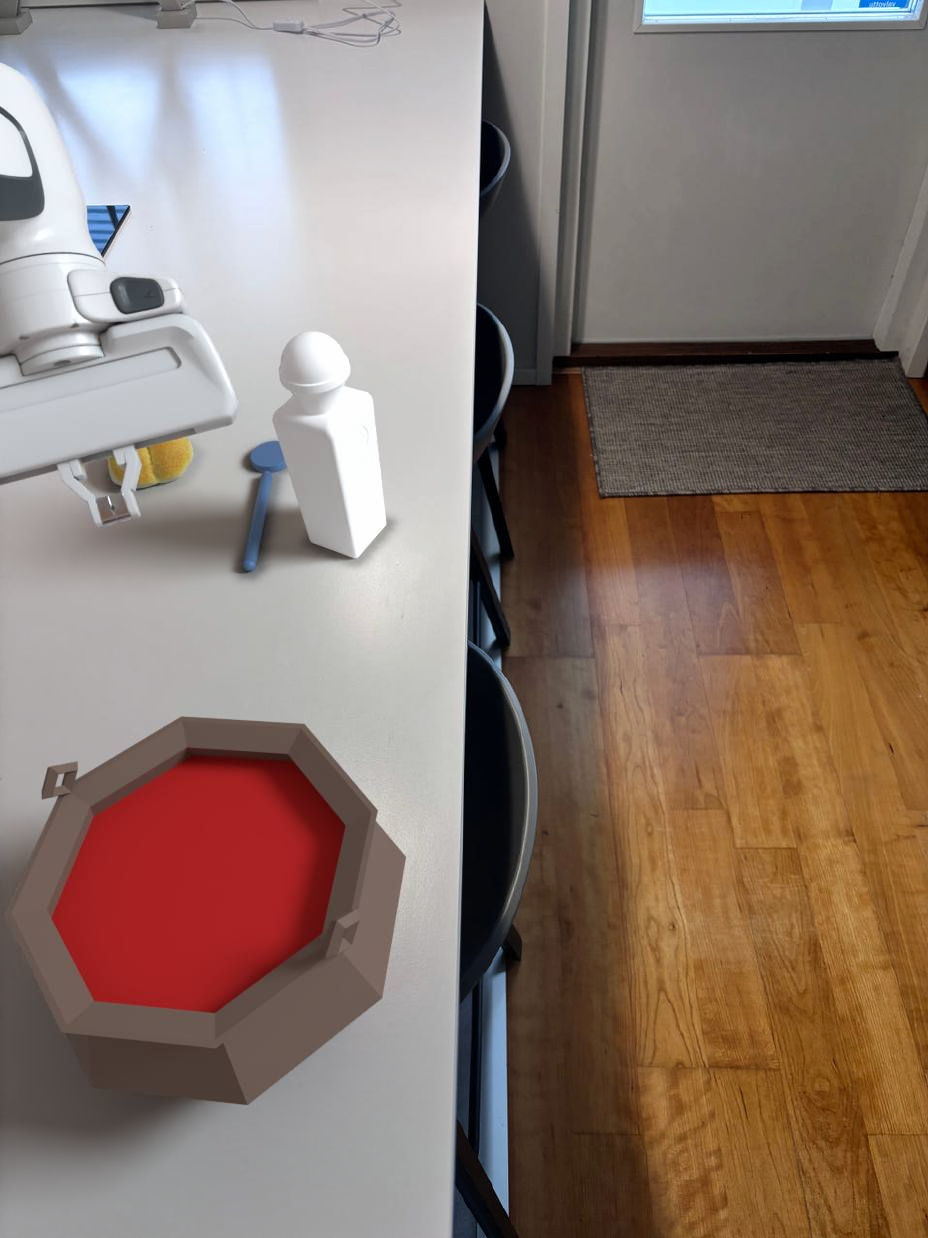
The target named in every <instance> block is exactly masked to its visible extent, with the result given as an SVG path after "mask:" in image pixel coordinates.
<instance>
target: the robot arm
mask: <svg viewBox="0 0 928 1238" xmlns="http://www.w3.org/2000/svg"><path fill="white" fill-rule="evenodd" d="M82 189H83V188H82V186H81V184H80V180H79V178H78V174H77V171H76V169H75V167H74V164H73V161H72V159H71V155H70V154H69V151H68V148H67V146H66V144H65V142H64V139H63V137H62V135H61V132H60V130H59V128H58V126H57V124H56V122H55V119H54V118H53V116H52V114H51V112H50V111H49V108H48V107H47V105H46V103H45V101H44V99H43V97H42V96H41V95H40V92H38V90H37V88H36V87H35V85H34V84H33V83H32V81H30V80H29V78H27V77H26V76H25V75H24V74H23V73H22V72H20V71H18V70H17V69H16V68H13V67H11V66H9V65H8V64H6V63H3V62H1V61H0V486H5V485H8V484H11V483H15V482H19V481H23V480H27V479H31V478H35V477H38V476H42V475H46V474H49V473H54V472H58V474H59V477H60V481H61V482H62V483H63V484H64V485H66V486H67V487H68V488H69V489H70V490H71V491H72V492H73V493H74V494H76V495H77V497H79V498H80V499H81V500H83V502H84V503H86V504H87V506H88V510H89V512H90V516H91V519H92V521H93V524H94V526H95V527H96V528H97V529H103V528H106V527H109V526H114V525H117V524H119V523H124V522H127V521H131V520H135V519H139V518H141V517H142V516H141V512H140V508H139V505H138V503H137V499H136V496H135V493H136V491H137V488H136V487H137V483H138V479H139V475H140V471H141V467H142V464H141V461H140V458H139V455H138V452H137V450H138V449H142V448H145V447H149V446H153V445H157V444H161V443H165V442H168V441H172V440H176V439H180V438H184V437H191V436H195V435H199V434H203V433H207V432H210V431H213V430H218V429H221V428H225V427H228V426H231V425H233V424H234V422H235V421H236V418H237V416H238V415H239V411H240V405H239V400H238V398H237V395H236V392H235V389H234V386H233V384H232V381H231V379H230V376H229V373H228V371H227V368H226V366H225V364H224V362H223V360H222V358H221V356H220V353H219V351H218V349H217V347H216V345H215V344H214V341H213V340H212V337H211V336H210V334H209V333H208V331H207V330H206V329H205V327H204V326H203V325H202V324H201V323H200V322H199V321H198V320H196V319H195V318H193V317H191V316H190V311H189V304H188V302H187V299H186V296H185V293H184V292H183V290H182V288H181V286H180V285H179V284H178V282H177V281H176V280H175V279H173V278H171V277H169V276H164V275H154V274H153V275H152V274H141V273H140V274H138V273H125V272H116V271H109V270H108V267H107V265H106V262H105V260H104V257H103V256H102V254H101V252H100V251H99V250H98V248H97V246H96V244H94V240H93V239H92V237H91V234H90V231H89V225H88V206H87V203H86V200H85V199H86V198H85V196H84V192H83V190H82ZM111 456H114V457H115V460H116V463H117V465H118V466H119V467H120V468H122V469H123V470H124V469H125V473H124V477H123V482H122V486H120V492H117V493H113V494H110V495H106V496H101V497H97V496H96V495H94V493H93V492H92V491H90V490H89V489H88V487H86V486H85V485H84V484H83V483H82V482H83V481H86V480H88V475H87V471H86V468H85V465H84V464H87V463H92V462H96V461H100V460H103V459H107V457H111ZM81 481H82V482H81Z"/></svg>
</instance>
